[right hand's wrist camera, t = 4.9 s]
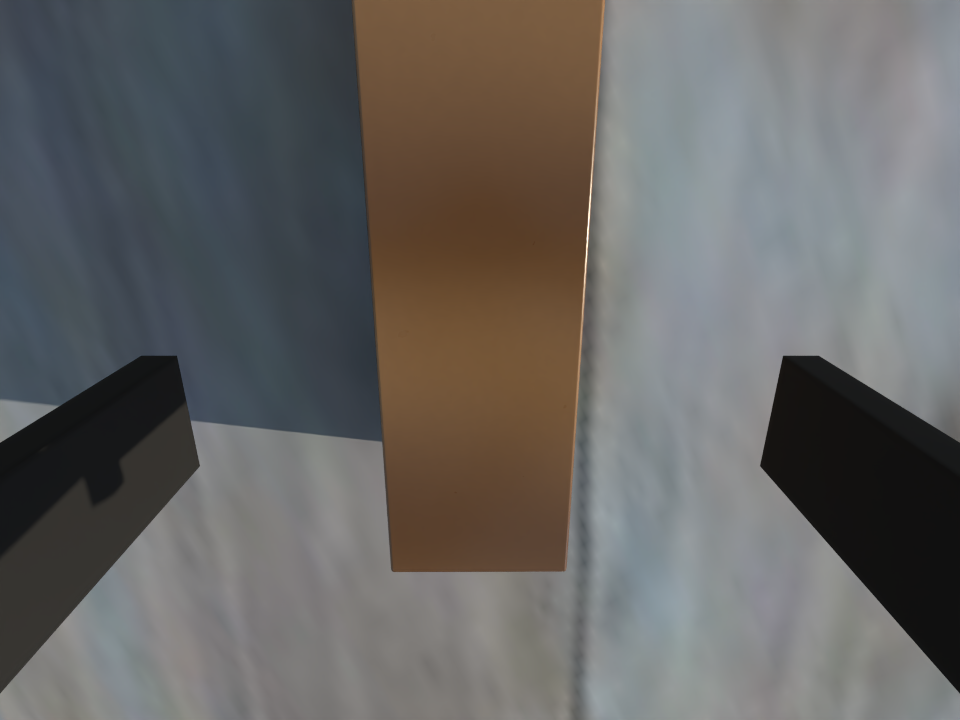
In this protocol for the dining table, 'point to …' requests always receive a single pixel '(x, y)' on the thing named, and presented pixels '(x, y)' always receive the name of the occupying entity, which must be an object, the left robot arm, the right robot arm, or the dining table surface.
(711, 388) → the dining table surface
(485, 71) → the post
